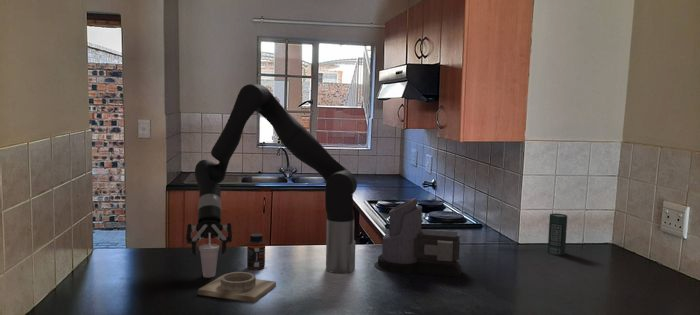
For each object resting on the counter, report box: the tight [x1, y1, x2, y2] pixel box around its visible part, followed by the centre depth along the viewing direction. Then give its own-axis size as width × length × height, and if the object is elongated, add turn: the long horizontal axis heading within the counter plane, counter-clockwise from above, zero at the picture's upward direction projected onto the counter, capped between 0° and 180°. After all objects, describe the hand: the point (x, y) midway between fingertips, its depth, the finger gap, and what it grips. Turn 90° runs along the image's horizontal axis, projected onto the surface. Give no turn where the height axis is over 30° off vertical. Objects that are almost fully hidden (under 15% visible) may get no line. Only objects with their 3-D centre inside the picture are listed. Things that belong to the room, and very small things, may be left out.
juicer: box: [373, 197, 463, 278], centre depth 182 cm, size 30×16×24 cm, turn 77°
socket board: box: [197, 271, 277, 303], centre depth 156 cm, size 18×14×4 cm
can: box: [547, 213, 568, 256], centre depth 206 cm, size 6×6×15 cm
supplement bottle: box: [246, 233, 266, 271], centre depth 178 cm, size 6×6×11 cm
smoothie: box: [198, 233, 220, 279], centre depth 169 cm, size 6×6×14 cm
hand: (209, 253), depth 168 cm, fingers open, 8 cm apart
